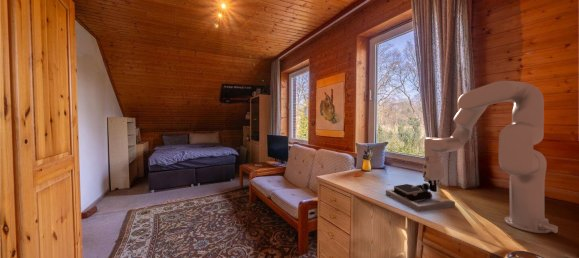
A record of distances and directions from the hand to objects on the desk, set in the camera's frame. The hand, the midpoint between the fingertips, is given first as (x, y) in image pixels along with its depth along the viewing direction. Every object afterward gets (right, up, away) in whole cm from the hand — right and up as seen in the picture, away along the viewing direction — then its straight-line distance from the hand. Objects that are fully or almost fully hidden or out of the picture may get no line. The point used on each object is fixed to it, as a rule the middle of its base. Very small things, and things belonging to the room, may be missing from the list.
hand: (433, 191), depth 121 cm
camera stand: (-10, -4, -2) cm, 11 cm away
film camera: (-10, -5, +1) cm, 11 cm away
